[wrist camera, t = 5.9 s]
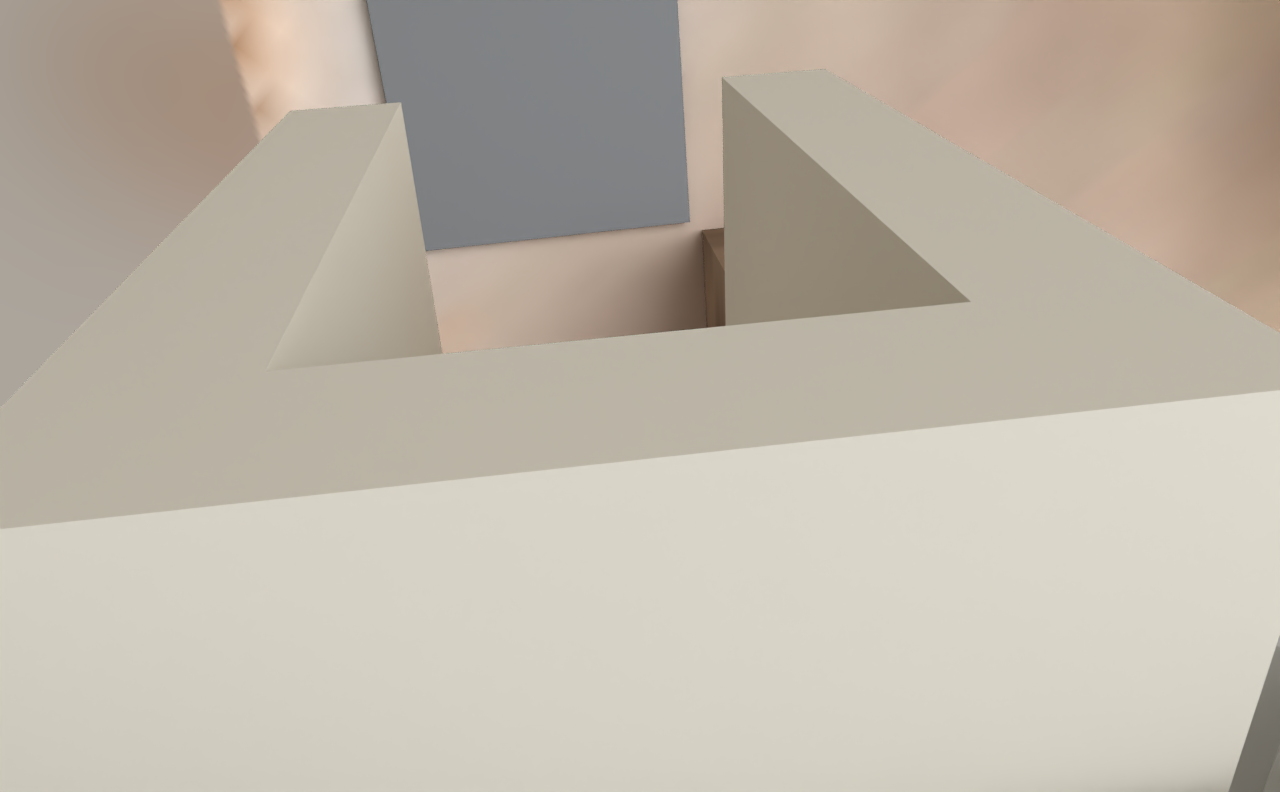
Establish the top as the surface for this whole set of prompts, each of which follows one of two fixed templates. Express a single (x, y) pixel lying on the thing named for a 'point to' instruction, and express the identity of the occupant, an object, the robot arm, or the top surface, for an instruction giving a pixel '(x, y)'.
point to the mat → (537, 114)
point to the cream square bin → (646, 499)
